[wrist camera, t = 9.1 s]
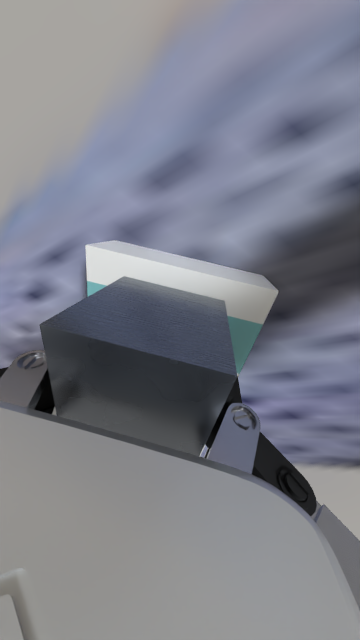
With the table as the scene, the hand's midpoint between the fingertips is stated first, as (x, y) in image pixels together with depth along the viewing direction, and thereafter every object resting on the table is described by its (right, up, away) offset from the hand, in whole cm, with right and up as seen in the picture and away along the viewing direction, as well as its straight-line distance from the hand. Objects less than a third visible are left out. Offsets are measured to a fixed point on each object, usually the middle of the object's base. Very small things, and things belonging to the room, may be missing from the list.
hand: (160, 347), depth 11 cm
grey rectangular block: (+1, +3, +5) cm, 6 cm away
